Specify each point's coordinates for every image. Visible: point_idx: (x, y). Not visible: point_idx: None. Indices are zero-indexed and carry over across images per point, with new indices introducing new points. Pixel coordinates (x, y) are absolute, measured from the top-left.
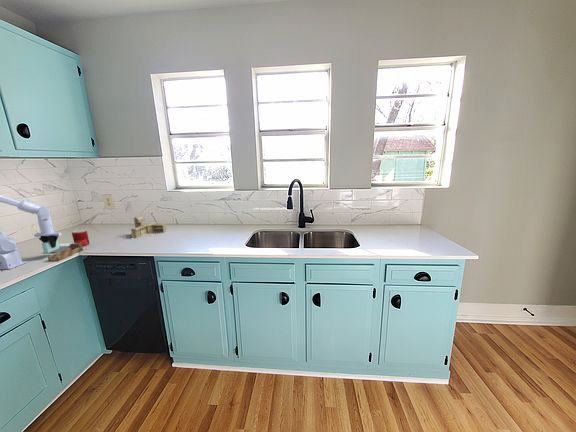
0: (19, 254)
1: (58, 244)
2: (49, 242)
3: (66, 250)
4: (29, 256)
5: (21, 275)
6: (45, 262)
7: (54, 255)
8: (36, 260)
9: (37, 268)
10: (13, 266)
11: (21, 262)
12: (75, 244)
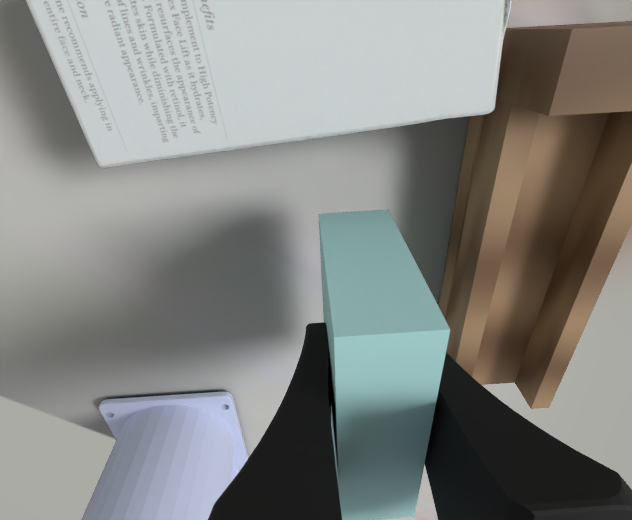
0: (206, 515)
1: (408, 255)
2: (418, 468)
3: (506, 220)
4: (7, 254)
5: (430, 513)
6: None
7: (469, 370)
8: (267, 353)
9: None
10: (235, 462)
11: (225, 431)
12: None
